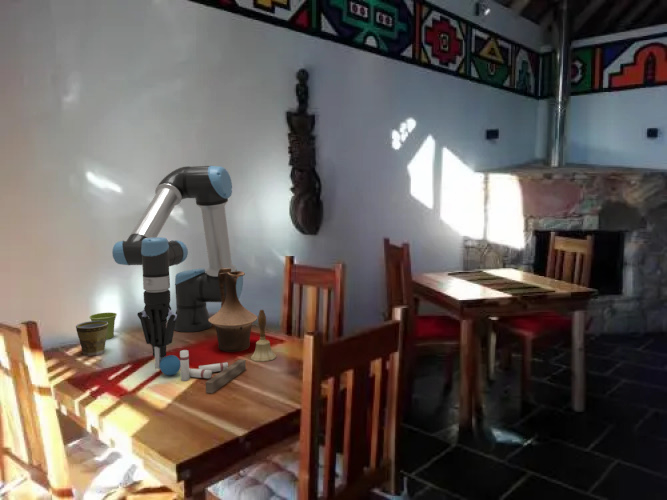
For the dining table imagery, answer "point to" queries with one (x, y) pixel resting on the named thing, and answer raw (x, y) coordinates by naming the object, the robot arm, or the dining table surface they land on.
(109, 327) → the plant pot
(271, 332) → the dining table surface
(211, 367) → the pin
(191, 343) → the dining table surface
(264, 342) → the hand bell
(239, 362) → the back wall
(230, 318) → the pitcher
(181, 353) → the pin
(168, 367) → the ball
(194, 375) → the front pin
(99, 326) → the ceramic cup
